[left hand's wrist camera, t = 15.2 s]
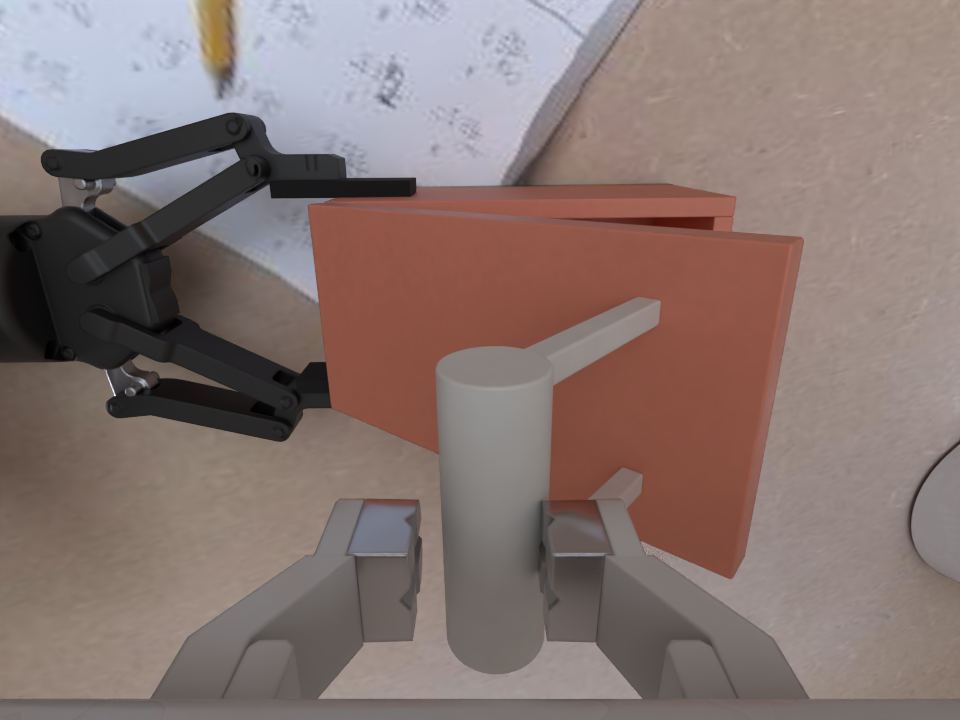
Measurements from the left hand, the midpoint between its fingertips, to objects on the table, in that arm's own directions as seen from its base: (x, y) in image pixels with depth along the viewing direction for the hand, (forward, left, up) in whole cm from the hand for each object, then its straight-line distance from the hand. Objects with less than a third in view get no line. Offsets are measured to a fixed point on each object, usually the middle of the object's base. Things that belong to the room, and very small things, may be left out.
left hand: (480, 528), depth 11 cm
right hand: (+3, -1, -20) cm, 20 cm away
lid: (-1, 0, -10) cm, 10 cm away
